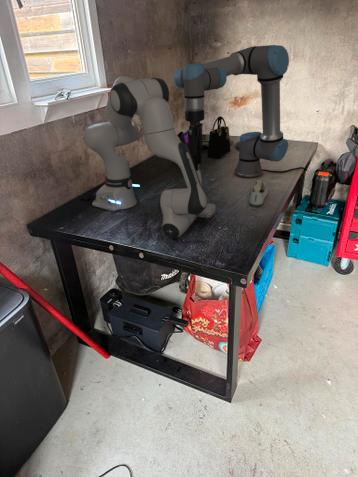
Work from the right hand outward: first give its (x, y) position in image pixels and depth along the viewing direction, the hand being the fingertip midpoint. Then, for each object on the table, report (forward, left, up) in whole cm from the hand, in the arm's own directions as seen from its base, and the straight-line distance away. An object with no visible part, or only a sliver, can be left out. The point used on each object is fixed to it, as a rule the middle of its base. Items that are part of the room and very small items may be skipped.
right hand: (196, 168), depth 138 cm
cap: (0, 0, +2) cm, 2 cm away
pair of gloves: (+17, -120, -21) cm, 123 cm away
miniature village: (-19, -116, -21) cm, 120 cm away
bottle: (0, 0, -21) cm, 21 cm away
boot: (+24, -72, -21) cm, 79 cm away
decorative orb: (+26, -95, -21) cm, 101 cm away
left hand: (0, -1, -15) cm, 15 cm away
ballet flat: (-26, -22, -21) cm, 40 cm away
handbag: (+5, -93, -21) cm, 95 cm away
